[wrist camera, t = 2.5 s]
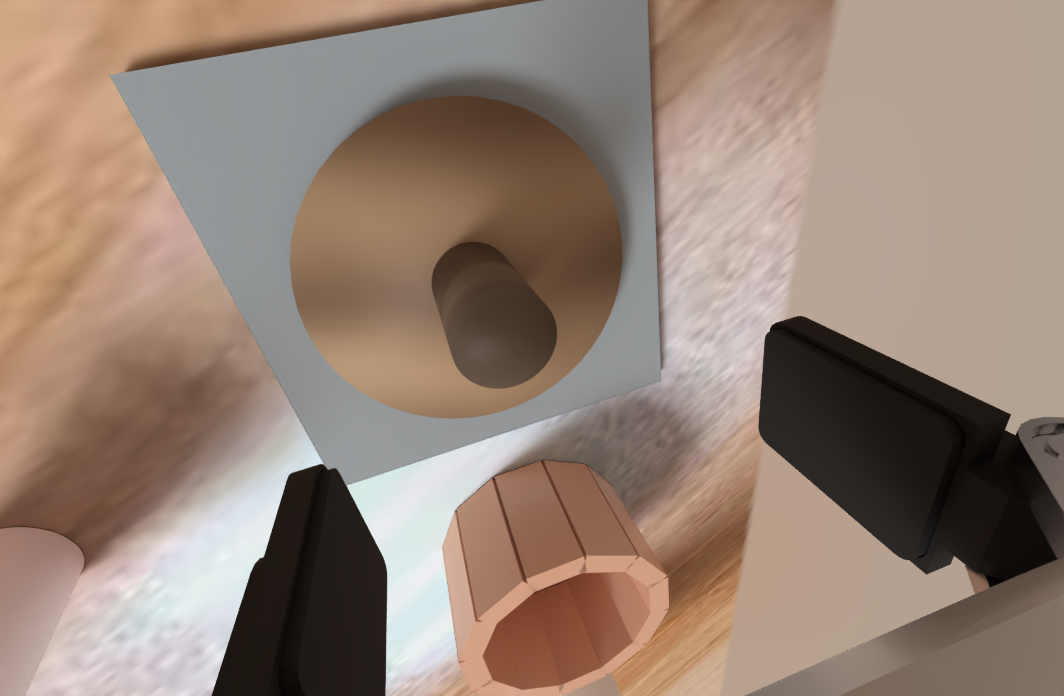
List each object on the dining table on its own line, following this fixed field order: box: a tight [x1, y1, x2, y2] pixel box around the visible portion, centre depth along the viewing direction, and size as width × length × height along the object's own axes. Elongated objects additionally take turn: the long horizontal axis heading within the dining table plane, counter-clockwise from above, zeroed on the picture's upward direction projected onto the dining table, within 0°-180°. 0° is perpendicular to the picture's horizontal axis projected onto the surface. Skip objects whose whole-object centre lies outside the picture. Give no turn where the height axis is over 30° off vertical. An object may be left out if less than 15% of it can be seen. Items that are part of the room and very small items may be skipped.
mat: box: [110, 0, 661, 485], centre depth 18 cm, size 16×16×1 cm
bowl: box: [443, 460, 669, 696], centre depth 24 cm, size 10×10×6 cm
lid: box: [290, 96, 622, 419], centre depth 15 cm, size 12×12×6 cm
